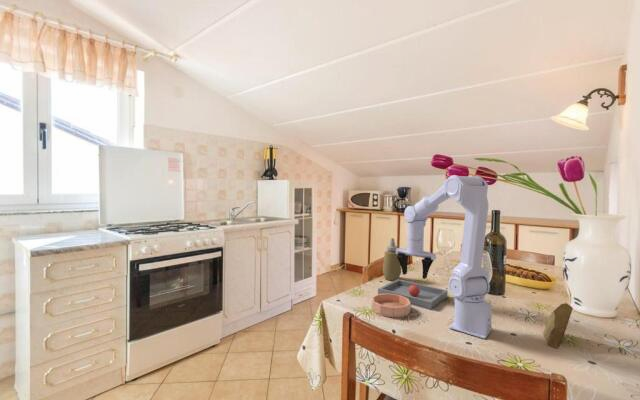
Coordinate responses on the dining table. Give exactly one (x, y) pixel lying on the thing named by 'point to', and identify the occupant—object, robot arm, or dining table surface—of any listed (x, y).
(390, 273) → the squeeze bottle
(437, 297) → the tray
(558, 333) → the rock
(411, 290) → the ball
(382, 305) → the pink bowl
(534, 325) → the dining table surface
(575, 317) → the dining table surface
